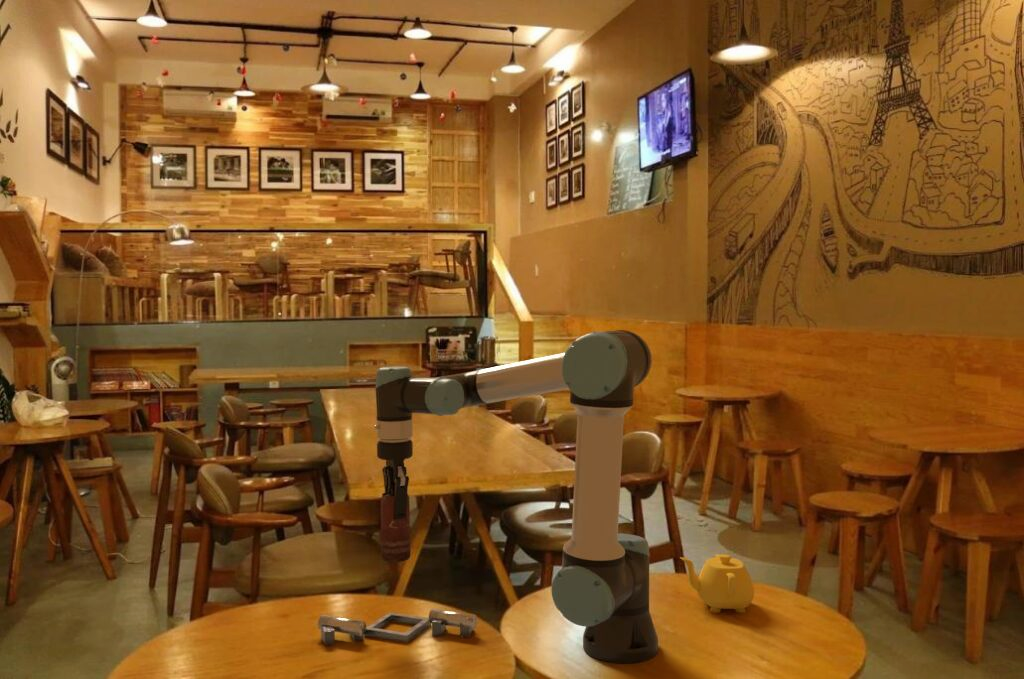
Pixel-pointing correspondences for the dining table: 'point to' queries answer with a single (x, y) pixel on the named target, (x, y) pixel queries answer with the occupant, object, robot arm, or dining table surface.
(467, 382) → the robot arm
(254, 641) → the dining table surface
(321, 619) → the coupling rig
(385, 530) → the can
